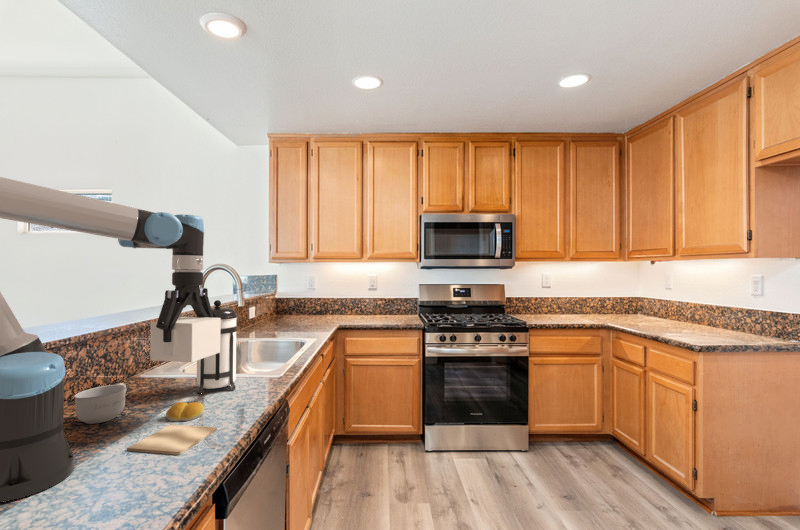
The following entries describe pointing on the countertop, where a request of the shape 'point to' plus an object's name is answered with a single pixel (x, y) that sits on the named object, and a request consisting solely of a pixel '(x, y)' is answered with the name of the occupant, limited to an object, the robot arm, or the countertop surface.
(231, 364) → the coffee press
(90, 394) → the teacup
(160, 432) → the board
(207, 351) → the cover
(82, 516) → the countertop surface
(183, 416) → the bread roll
